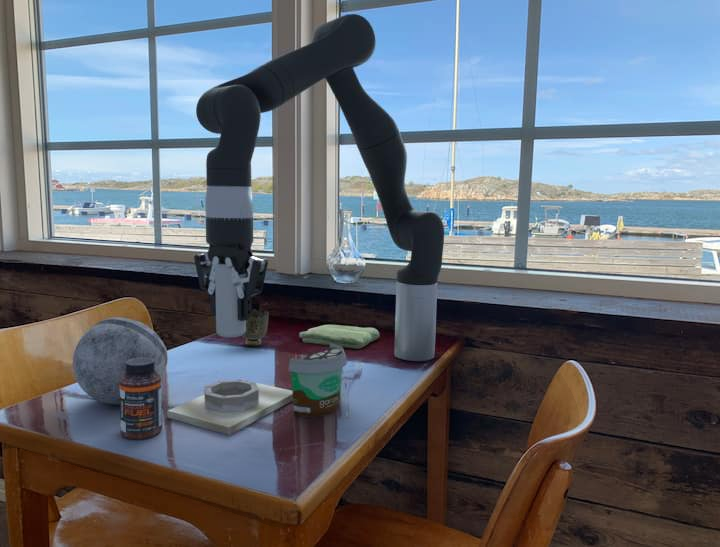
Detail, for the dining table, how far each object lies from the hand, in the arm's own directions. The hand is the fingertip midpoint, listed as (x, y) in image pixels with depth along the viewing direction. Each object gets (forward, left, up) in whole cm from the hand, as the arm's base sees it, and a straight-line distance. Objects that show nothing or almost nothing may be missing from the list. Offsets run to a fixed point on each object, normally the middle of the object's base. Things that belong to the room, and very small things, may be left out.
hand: (230, 317), depth 92 cm
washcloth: (-49, -7, -17) cm, 53 cm away
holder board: (-1, 0, -16) cm, 16 cm away
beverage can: (0, 0, -3) cm, 3 cm away
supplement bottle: (+14, -5, -16) cm, 22 cm away
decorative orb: (+7, -18, -16) cm, 26 cm away
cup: (-34, -22, -16) cm, 44 cm away
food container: (-8, +14, -16) cm, 23 cm away
